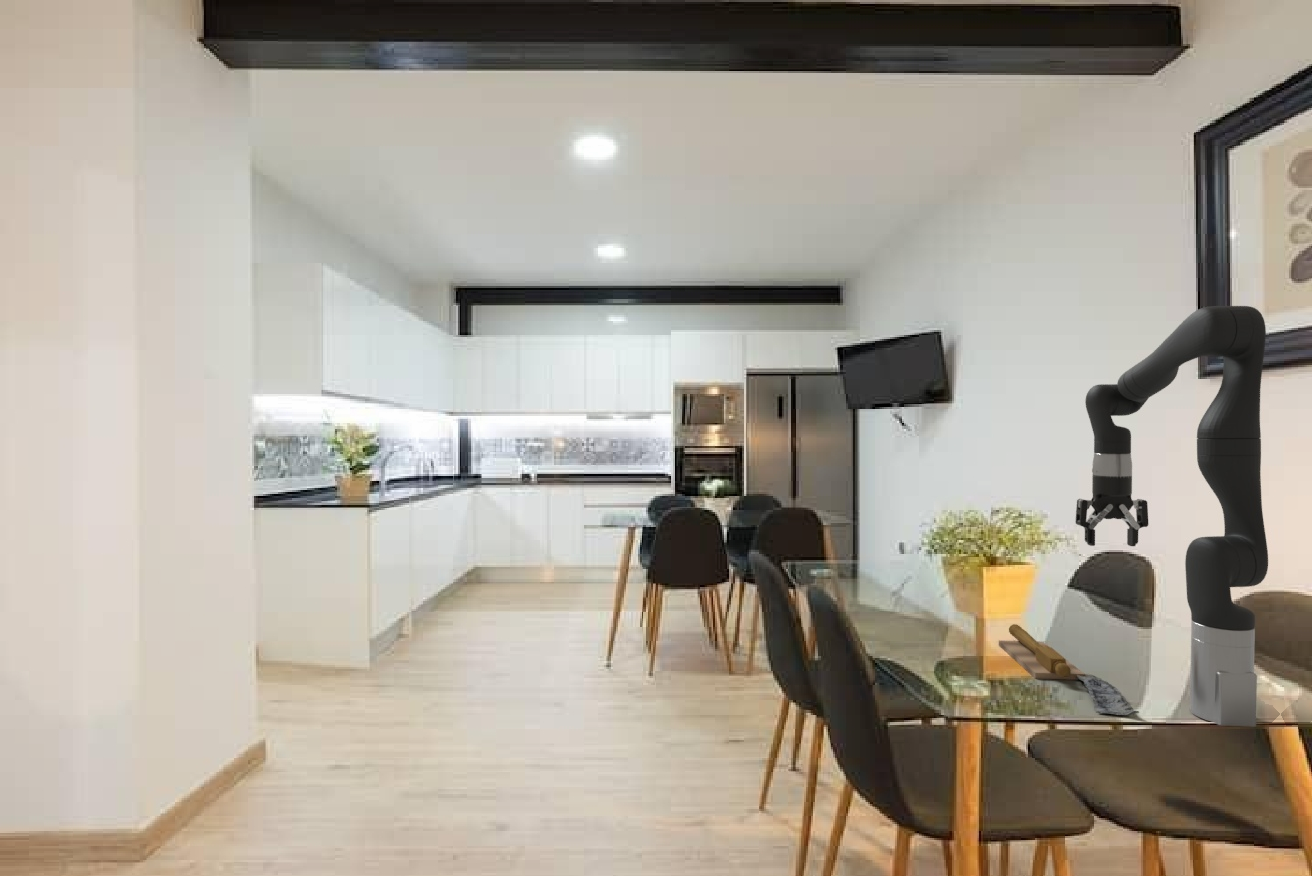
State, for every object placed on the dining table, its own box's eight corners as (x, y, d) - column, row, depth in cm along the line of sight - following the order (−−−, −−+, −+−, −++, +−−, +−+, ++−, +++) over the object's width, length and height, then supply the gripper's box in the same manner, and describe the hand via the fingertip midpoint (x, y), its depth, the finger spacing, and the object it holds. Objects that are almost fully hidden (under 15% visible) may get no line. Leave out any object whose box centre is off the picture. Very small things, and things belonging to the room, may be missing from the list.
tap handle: (1021, 623, 179) (1073, 665, 150) (1021, 635, 179) (1073, 679, 150) (1007, 623, 180) (1057, 664, 150) (1007, 635, 180) (1057, 679, 150)
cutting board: (1085, 679, 153) (1085, 674, 153) (1035, 678, 154) (1035, 672, 154) (1042, 646, 175) (1042, 641, 175) (998, 645, 176) (998, 640, 176)
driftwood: (1072, 676, 155) (1072, 667, 155) (1108, 679, 153) (1108, 670, 153) (1097, 716, 136) (1097, 704, 136) (1139, 720, 134) (1139, 708, 134)
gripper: (1086, 475, 160) (1085, 548, 161) (1155, 474, 159) (1154, 549, 159) (1070, 472, 168) (1070, 542, 168) (1137, 472, 166) (1136, 542, 167)
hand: (1111, 545), depth 164 cm, fingers open, 8 cm apart
